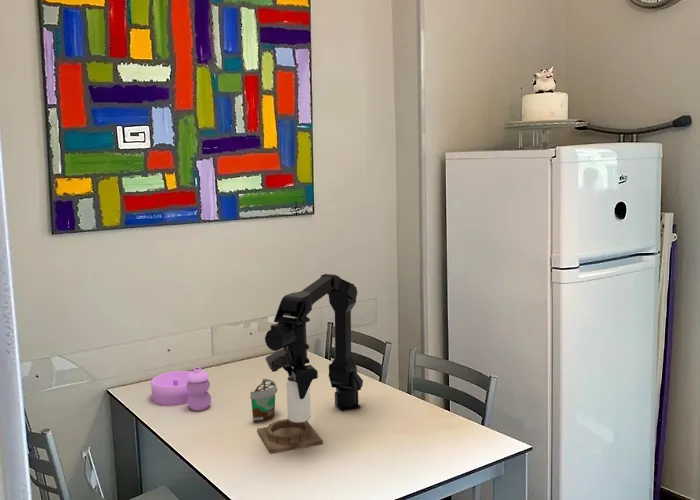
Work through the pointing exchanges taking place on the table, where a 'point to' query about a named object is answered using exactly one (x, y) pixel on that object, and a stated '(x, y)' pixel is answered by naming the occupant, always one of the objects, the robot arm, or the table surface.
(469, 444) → the table surface
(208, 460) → the table surface
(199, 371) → the container set
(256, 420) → the food container
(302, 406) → the can
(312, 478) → the table surface
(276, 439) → the brown ring stand base
